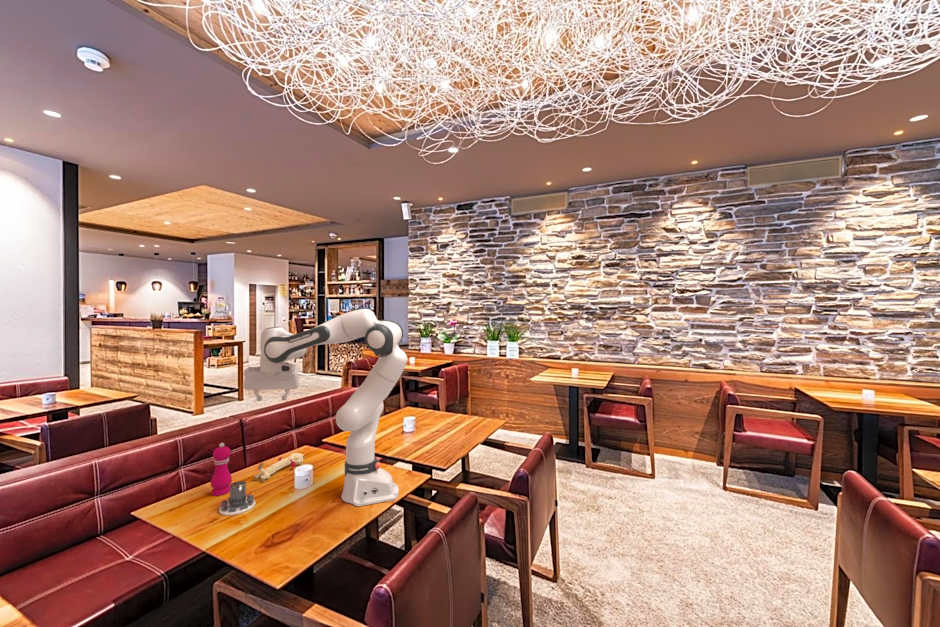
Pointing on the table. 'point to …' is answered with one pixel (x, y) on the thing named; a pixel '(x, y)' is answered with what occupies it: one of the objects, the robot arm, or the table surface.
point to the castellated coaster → (233, 510)
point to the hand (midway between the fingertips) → (271, 400)
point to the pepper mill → (221, 471)
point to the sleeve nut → (237, 493)
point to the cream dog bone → (279, 466)
